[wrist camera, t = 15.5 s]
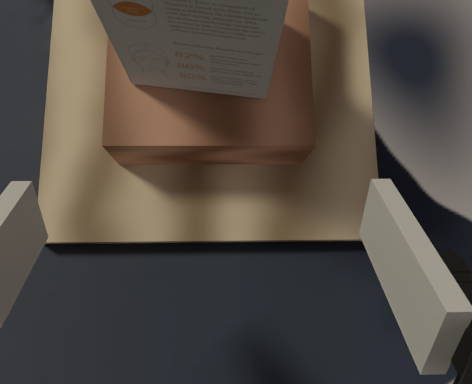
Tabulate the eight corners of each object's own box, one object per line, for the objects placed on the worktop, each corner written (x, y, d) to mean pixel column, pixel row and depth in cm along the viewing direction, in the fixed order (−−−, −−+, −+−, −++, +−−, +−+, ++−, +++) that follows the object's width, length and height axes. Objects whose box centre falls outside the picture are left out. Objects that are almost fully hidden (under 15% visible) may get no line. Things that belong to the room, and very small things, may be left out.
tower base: (42, 244, 28) (1, 236, 22) (65, -50, 32) (35, -112, 27) (376, 240, 28) (410, 232, 23) (354, -45, 33) (378, -105, 28)
